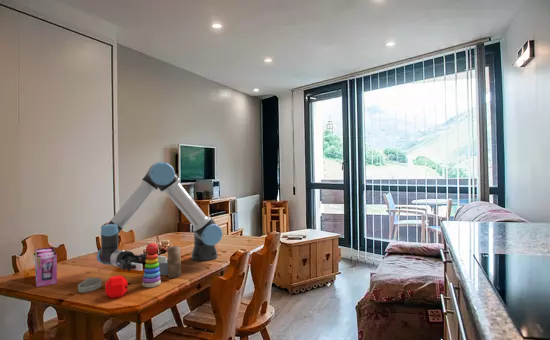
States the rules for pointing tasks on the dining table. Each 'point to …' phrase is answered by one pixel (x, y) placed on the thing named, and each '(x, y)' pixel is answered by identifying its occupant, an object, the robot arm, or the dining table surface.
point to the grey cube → (163, 268)
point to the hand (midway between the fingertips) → (154, 263)
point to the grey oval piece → (89, 285)
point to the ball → (116, 286)
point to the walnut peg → (174, 262)
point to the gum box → (45, 266)
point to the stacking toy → (151, 267)
